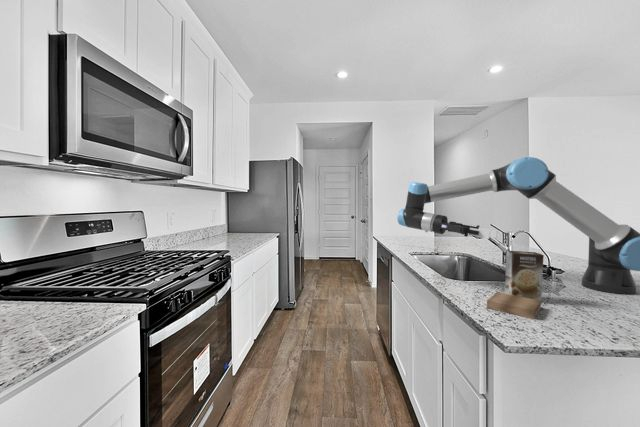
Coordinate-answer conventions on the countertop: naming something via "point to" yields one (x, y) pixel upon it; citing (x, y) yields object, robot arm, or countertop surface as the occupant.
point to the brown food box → (524, 274)
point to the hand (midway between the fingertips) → (493, 234)
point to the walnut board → (514, 305)
